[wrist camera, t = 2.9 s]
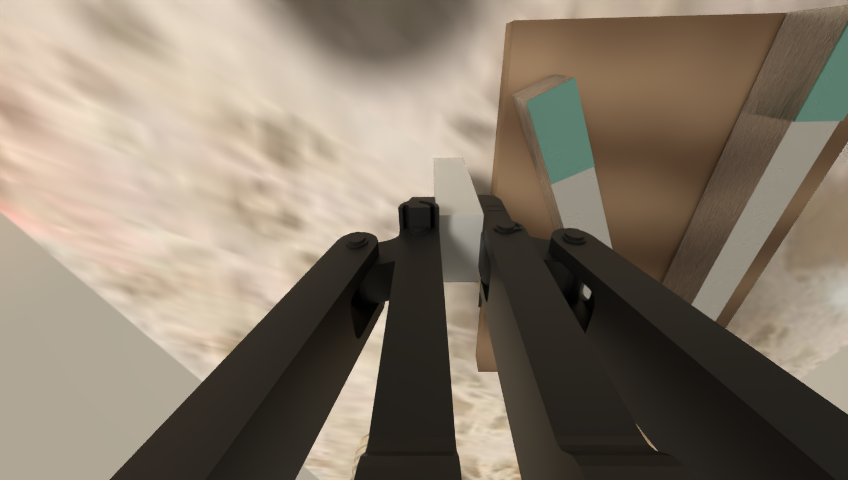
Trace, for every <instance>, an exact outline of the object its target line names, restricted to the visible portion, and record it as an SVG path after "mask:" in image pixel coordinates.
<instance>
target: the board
mask: <svg viewBox="0 0 848 480" xmlns="http://www.w3.org/2000/svg"><path fill="white" fill-rule="evenodd" d="M786 14H787V13H769V14H733V15H697V16H661V17H625V18H589V19H553V20H517V21H512V22H510V23H507V24H506V34H505V45H504V56H503V67H502V77H501V88H500V99H499V110H498V121H497V131H496V142H495V153H494V164H493V175H492V185H491V195H494V196H496V197H498V198H499V199H501V200H502V202H503V204H504V206H505V208H506V211H507V212H508V214H509V216H510V218H511V220H512V221H514V222H517V223H519V224H521V225H523V226H524V227H525V229H526V230H527V232H528V234H529V236H531V237H535V238H540V239H547V240H550V239H551V235H552V232H554V231H555V229H554V226H553V222H552V219H551V216H550V213H549V210H548V207H547V204H546V201H545V197H544V194H543V191H542V188H541V185H540V182H539V179H538V176H537V172H536V169H535V166H534V163H533V160H532V157H531V154H530V151H529V147H528V144H527V141H526V138H525V135H524V132H523V129H522V126H521V122H520V119H519V116H518V113H517V110H516V107H515V104H514V101H513V97H512V94H514V93H516V92H518V91H520V90H522V89H524V88H526V87H528V86H530V85H532V84H534V83H536V82H538V81H540V80H542V79H544V78H546V77H548V76H550V75H552V74H555V75H562V76H569V77H575V78H576V83H577V87H578V92H579V96H580V101H581V105H582V110H583V114H584V119H585V123H586V128H587V132H588V137H589V142H590V146H591V151H592V155H593V160H594V164H595V166H594V168H595V173H596V177H597V182H598V186H599V191H600V195H601V200H602V204H603V209H604V213H605V218H606V222H607V227H608V231H609V236H610V240H611V245H612V249H613V250H614V251H615V252H617V253H618V254H620V255H621V256H622V257H624V258H625V259H627V260H628V261H630V262H631V263H632V264H634V265H635V266H637V267H638V268H640V269H641V270H642V271H644V272H645V273H647V274H648V275H650V276H651V277H652V278H654V279H655V280H657V281H658V282H660V283H661V284H662V282H663V280H664V278H665V276H666V273H667V271H668V269H669V267H670V265H671V263H672V261H673V258H674V256H675V254H676V252H677V250H678V248H679V245H680V243H681V241H682V239H683V237H684V235H685V232H686V230H687V228H688V226H689V224H690V222H691V219H692V217H693V215H694V213H695V211H696V209H697V207H698V204H699V202H700V200H701V198H702V196H703V194H704V191H705V189H706V187H707V185H708V183H709V181H710V178H711V176H712V174H713V172H714V170H715V168H716V166H717V163H718V161H719V159H720V157H721V155H722V153H723V150H724V148H725V146H726V144H727V142H728V140H729V137H730V135H731V133H732V131H733V129H734V127H735V125H736V122H737V120H738V118H739V116H740V114H741V112H742V109H743V107H744V105H745V103H746V101H747V99H748V96H749V94H750V92H751V90H752V88H753V86H754V83H755V81H756V79H757V77H758V75H759V73H760V71H761V68H762V66H763V64H764V62H765V60H766V58H767V55H768V53H769V51H770V49H771V47H772V45H773V42H774V40H775V38H776V36H777V34H778V32H779V30H780V27H781V25H782V23H783V21H784V19H785V17H786ZM847 142H848V114H847V115H846V117H845V119H844V120H843V121H840V122H839V123H838V125H837V127H836V128H835V130H834V132H833V133H832V135H831V136H830V138H829V140H828V141H827V143H826V144H825V146H824V148H823V149H822V151H821V152H820V154H819V156H818V157H817V159H816V160H815V162H814V164H813V165H812V167H811V168H810V170H809V172H808V173H807V175H806V177H805V178H804V180H803V181H802V183H801V185H800V186H799V188H798V189H797V191H796V193H795V194H794V196H793V197H792V199H791V201H790V202H789V204H788V205H787V207H786V209H785V210H784V212H783V213H782V215H781V217H780V218H779V220H778V222H777V223H776V225H775V226H774V228H773V230H772V231H771V233H770V234H769V236H768V238H767V239H766V241H765V242H764V244H763V246H762V247H761V249H760V250H759V252H758V254H757V255H756V257H755V258H754V260H753V262H752V263H751V265H750V266H749V268H748V270H747V271H746V273H745V275H744V276H743V278H742V279H741V281H740V283H739V284H738V286H737V287H736V289H735V291H734V292H733V294H732V295H731V297H730V299H729V300H728V302H727V303H726V305H725V307H724V308H723V310H722V311H721V313H720V315H719V316H718V318H717V320H716V321H715V322H717V323H718V324H719V325H721V326H722V327H724V328H726V327H727V325H728V323H729V322H730V320H731V319H732V317H733V316H734V314H735V313H736V311H737V310H738V308H739V307H740V305H741V304H742V302H743V301H744V299H745V298H746V296H747V294H748V293H749V291H750V290H751V288H752V287H753V285H754V284H755V282H756V281H757V279H758V278H759V276H760V275H761V273H762V272H763V270H764V268H765V267H766V265H767V264H768V262H769V261H770V259H771V258H772V256H773V255H774V253H775V252H776V250H777V249H778V247H779V246H780V244H781V243H782V241H783V239H784V238H785V236H786V235H787V233H788V232H789V230H790V229H791V227H792V226H793V224H794V223H795V221H796V220H797V218H798V217H799V215H800V214H801V212H802V210H803V209H804V207H805V206H806V204H807V203H808V201H809V200H810V198H811V197H812V195H813V194H814V192H815V191H816V189H817V188H818V186H819V185H820V183H821V181H822V180H823V178H824V177H825V175H826V174H827V172H828V171H829V169H830V168H831V166H832V165H833V163H834V162H835V160H836V159H837V157H838V156H839V154H840V152H841V151H842V149H843V148H844V146H845V145H846V143H847ZM476 361H477V367H478V372H498V370H497V366H496V361H495V357H494V352H493V348H492V343H491V339H490V334H489V330H488V325H487V321H486V316H485V312H484V307H483V302H482V307H480V315H479V326H478V337H477V347H476Z"/></svg>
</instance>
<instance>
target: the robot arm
mask: <svg viewBox="0 0 848 480" xmlns="http://www.w3.org/2000/svg"><path fill="white" fill-rule="evenodd" d="M398 210H399V225H400V233H399V236H397V237H396V238H394V239H391V240H388V241H384V242H378V240H377V237H376V236H374V235H373V234H370V233H366V232H355V233H350V234H348V235H345V236H343V237H341V238H340V239H339V240H337V241H336V243H335V244H334V245H333V246H332V247H331V248H330V249H329V250H328V251H327V252H326V253H325V254H324V255H323V256H322V257H321V258H320V259H319V260H318V261H317V262H316V264H315V265H314V266H313V267H312V268H311V269H310V270H309V271H308V272H307V273H306V274H305V275H304V276H303V277H302V278H301V279H300V280H299V281H298V282H297V283H296V285H295V286H294V287H293V288H292V289H291V290H290V291H289V292H288V293H287V294H286V295H285V296H284V297H283V298H282V299H281V300H280V301H279V302H278V303H277V304H276V306H275V307H274V308H273V309H272V310H271V311H270V312H269V313H268V314H267V315H266V316H265V317H264V318H263V319H262V320H261V321H260V322H259V323H258V324H257V325H256V327H255V328H254V329H253V330H252V331H251V332H250V333H249V334H248V335H247V336H246V337H245V338H244V339H243V340H242V341H241V342H240V343H239V344H238V345H237V346H236V348H235V349H234V350H233V351H232V352H231V353H230V354H229V355H228V356H227V357H226V358H225V359H224V360H223V361H222V362H221V363H220V364H219V365H218V366H217V367H216V369H215V370H214V371H213V372H212V373H211V374H210V375H209V376H208V377H207V378H206V379H205V380H204V381H203V382H202V383H201V384H200V385H199V386H198V388H197V389H196V390H195V391H194V392H193V393H192V394H191V395H190V396H189V397H188V398H187V399H186V400H185V401H184V402H183V403H182V404H181V405H180V407H178V408H177V410H176V411H175V412H174V413H173V414H172V415H171V416H170V417H169V418H168V419H167V420H166V421H165V422H164V423H163V424H162V425H161V426H160V427H159V428H158V430H156V432H155V433H154V434H153V435H152V436H151V437H150V438H149V439H148V440H147V441H146V442H145V443H144V444H143V445H142V446H141V447H140V448H139V449H138V450H137V452H136V453H135V454H134V455H133V456H132V457H131V458H130V459H129V460H128V461H127V462H126V463H125V464H124V465H123V466H122V467H121V468H120V469H119V470H118V471H117V473H115V475H114V476H113V477H112V478H111V479H110V480H295V479H296V477H297V475H298V473H299V471H300V469H301V467H302V465H303V463H304V462H305V460H306V458H307V456H308V454H309V452H310V450H311V448H312V446H313V444H314V442H315V440H316V438H317V436H318V434H319V432H320V431H321V429H322V427H323V425H324V423H325V421H326V419H327V417H328V415H329V413H330V411H331V409H332V407H333V405H334V403H335V401H336V400H337V398H338V396H339V394H340V392H341V390H342V388H343V386H344V384H345V382H346V380H347V378H348V376H349V374H350V372H351V371H352V369H353V367H354V365H355V363H356V361H357V359H358V357H359V355H360V353H361V351H362V349H363V347H364V345H365V343H366V341H367V340H368V338H369V336H370V334H371V332H372V330H373V328H374V326H375V324H376V322H377V320H378V318H379V316H380V314H381V312H382V311H383V309H384V305H385V301H389V306H388V313H387V319H386V326H385V333H384V339H383V346H382V353H381V359H380V366H379V373H378V379H377V386H376V392H375V399H374V406H373V412H372V419H371V426H370V432H369V439H368V444H367V448H366V451H365V452H364V453H363V454H362V455H361V456H360V459H359V462H358V465H357V468H356V473H355V477H354V480H462V478H461V468H460V461H459V455H458V453H457V449H456V440H455V428H454V415H453V402H452V389H451V376H450V363H449V350H448V337H447V324H446V310H445V297H444V284H443V282H478V276H479V273H480V277H481V283H480V294H479V305H478V307H482V302H483V307H484V312H485V316H486V321H487V325H488V330H489V334H490V339H491V343H492V348H493V352H494V357H495V361H496V366H497V370H498V375H499V379H500V384H501V388H502V393H503V397H504V402H505V406H506V411H507V415H508V420H509V425H510V429H511V434H512V438H513V443H514V447H515V452H516V456H517V461H518V465H519V470H520V474H521V479H522V480H848V414H846V413H845V412H843V411H842V410H840V409H839V408H838V407H836V406H835V405H833V404H832V403H831V402H829V401H828V400H826V399H825V398H823V397H822V396H821V395H819V394H818V393H816V392H815V391H814V390H812V389H811V388H809V387H808V386H806V385H805V384H804V383H802V382H801V381H799V380H798V379H796V378H795V377H794V376H792V375H791V374H789V373H788V372H786V371H785V370H784V369H782V368H781V367H779V366H778V365H776V364H775V363H774V362H772V361H771V360H769V359H768V358H766V357H765V356H764V355H762V354H761V353H759V352H758V351H756V350H755V349H754V348H752V347H751V346H749V345H748V344H747V343H745V342H744V341H742V340H741V339H739V338H738V337H737V336H735V335H734V334H732V333H731V332H729V331H728V330H727V329H725V328H724V327H722V326H721V325H719V324H718V323H717V322H715V321H714V320H712V319H711V318H709V317H708V316H707V315H705V314H704V313H702V312H701V311H699V310H698V309H697V308H695V307H694V306H692V305H691V304H689V303H688V302H687V301H685V300H684V299H682V298H681V297H679V296H678V295H677V294H675V293H674V292H672V291H671V290H670V289H668V288H667V287H665V286H664V285H662V284H661V283H660V282H658V281H657V280H655V279H654V278H652V277H651V276H650V275H648V274H647V273H645V272H644V271H642V270H641V269H640V268H638V267H637V266H635V265H634V264H632V263H631V262H630V261H628V260H627V259H625V258H624V257H622V256H621V255H620V254H618V253H617V252H615V251H614V250H612V249H611V248H610V247H608V246H607V245H605V244H604V243H603V242H601V241H600V240H598V239H597V238H595V237H594V236H593V235H591V234H589V233H587V232H585V231H581V230H579V229H576V228H574V229H573V228H561V229H557V230H555V231H554V232H552V235H551V239H550V240H547V239H540V238H535V237H531V236H529V234H528V232H527V230H526V229H525V227H524V226H523V225H521V224H519V223H517V222H514V221H512V220H511V218H510V216H509V214H508V212H507V211H506V208H505V206H504V204H503V202H502V200H501V199H499V198H498V197H496V196H494V195H477V194H476V192H475V189H474V186H473V183H472V181H471V178H470V175H469V172H468V169H467V167H466V164H465V161H464V158H434V197H412V198H411V199H410V200H409V201H407V202H404V203H402V204H401V205H400V206H399V208H398ZM584 285H585V286H587V287H588V288H589V289H590V291H591V295H590V297H589V299H588V298H586V297H585V296H584V295H583V294H582V292H583V289H584ZM636 424H637V425H636ZM637 426H638V427H639V428H640V429H641V431H642V432H643V433H644V434H645V435H646V437H647V438H648V439H649V440H650V442H651V443H652V444H653V445H654V447H655V448H656V449H657V450H658V451H655V450H654V449H653V448H652V447H651V446H650V445H649V444H648V443H647V441H646V440H645V439H644V437H643V436H642V434H641V432H640V430H639V428H638V427H637Z"/></svg>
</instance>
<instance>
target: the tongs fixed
mask: <svg viewBox="0 0 848 480" xmlns="http://www.w3.org/2000/svg"><path fill="white" fill-rule="evenodd" d="M847 114H848V5H846V6H838V7H829V8H821V9H813V10H804V11H796V12H788V13H787V14H786V17H785V19H784V21H783V23H782V25H781V27H780V30H779V32H778V34H777V36H776V38H775V40H774V42H773V45H772V47H771V49H770V51H769V53H768V55H767V58H766V60H765V62H764V64H763V66H762V68H761V71H760V73H759V75H758V77H757V79H756V81H755V83H754V86H753V88H752V90H751V92H750V94H749V96H748V99H747V101H746V103H745V105H744V107H743V109H742V112H741V114H740V116H739V118H738V120H737V122H736V125H735V127H734V129H733V131H732V133H731V135H730V137H729V140H728V142H727V144H726V146H725V148H724V150H723V153H722V155H721V157H720V159H719V161H718V163H717V166H716V168H715V170H714V172H713V174H712V176H711V178H710V181H709V183H708V185H707V187H706V189H705V191H704V194H703V196H702V198H701V200H700V202H699V204H698V207H697V209H696V211H695V213H694V215H693V217H692V219H691V222H690V224H689V226H688V228H687V230H686V232H685V235H684V237H683V239H682V241H681V243H680V245H679V248H678V250H677V252H676V254H675V256H674V258H673V261H672V263H671V265H670V267H669V269H668V271H667V273H666V276H665V278H664V280H663V282H662V285H664V286H665V287H667V288H668V289H670V290H671V291H672V292H674V293H675V294H677V295H678V296H679V297H681V298H682V299H684V300H685V301H687V302H688V303H689V304H691V305H692V306H694V307H695V308H697V309H698V310H699V311H701V312H702V313H704V314H705V315H707V316H708V317H709V318H711V319H712V320H714V321H716V320H717V318H718V316H719V315H720V313H721V311H722V310H723V308H724V307H725V305H726V303H727V302H728V300H729V299H730V297H731V295H732V294H733V292H734V291H735V289H736V287H737V286H738V284H739V283H740V281H741V279H742V278H743V276H744V275H745V273H746V271H747V270H748V268H749V266H750V265H751V263H752V262H753V260H754V258H755V257H756V255H757V254H758V252H759V250H760V249H761V247H762V246H763V244H764V242H765V241H766V239H767V238H768V236H769V234H770V233H771V231H772V230H773V228H774V226H775V225H776V223H777V222H778V220H779V218H780V217H781V215H782V213H783V212H784V210H785V209H786V207H787V205H788V204H789V202H790V201H791V199H792V197H793V196H794V194H795V193H796V191H797V189H798V188H799V186H800V185H801V183H802V181H803V180H804V178H805V177H806V175H807V173H808V172H809V170H810V168H811V167H812V165H813V164H814V162H815V160H816V159H817V157H818V156H819V154H820V152H821V151H822V149H823V148H824V146H825V144H826V143H827V141H828V140H829V138H830V136H831V135H832V133H833V132H834V130H835V128H836V127H837V125H838V123H839V122H840V121H843V120H844V119H845V117H846V115H847Z"/></svg>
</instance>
